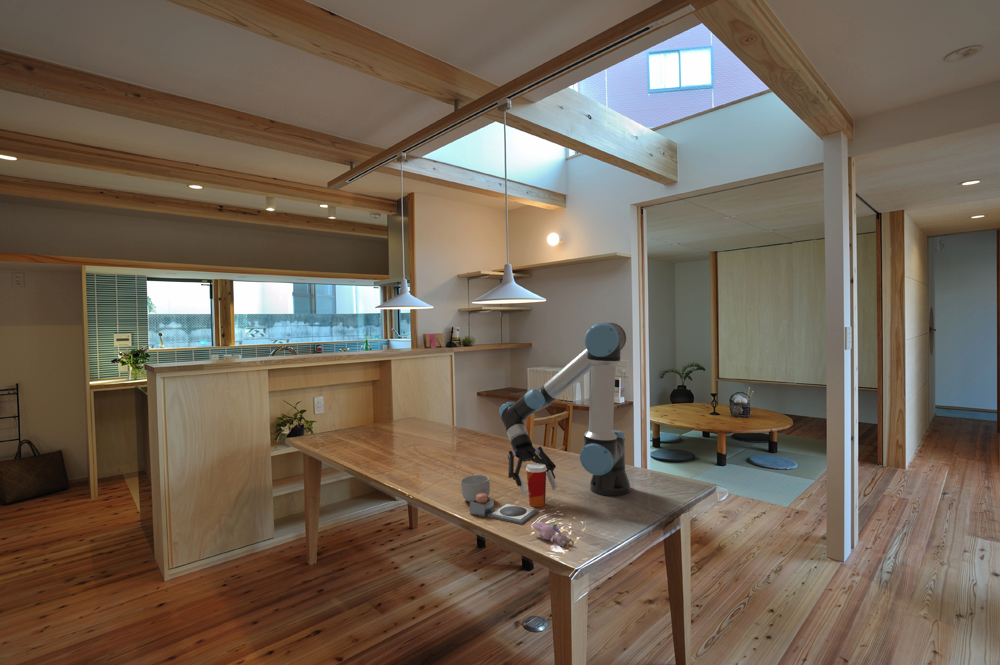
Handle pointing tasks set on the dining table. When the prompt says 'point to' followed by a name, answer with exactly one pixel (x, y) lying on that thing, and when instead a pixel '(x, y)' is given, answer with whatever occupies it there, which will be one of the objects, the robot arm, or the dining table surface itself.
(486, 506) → the button housing
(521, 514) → the board
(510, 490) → the dining table surface
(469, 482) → the teacup
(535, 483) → the paper cup
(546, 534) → the pink unicorn toy
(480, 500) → the button
